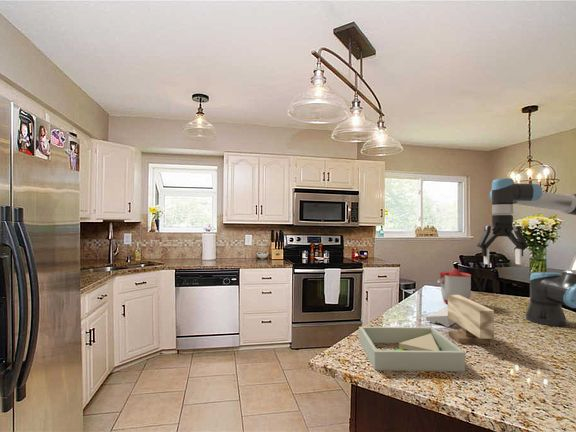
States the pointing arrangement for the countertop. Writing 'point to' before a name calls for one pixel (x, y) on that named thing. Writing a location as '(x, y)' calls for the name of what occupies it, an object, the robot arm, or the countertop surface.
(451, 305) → the beam
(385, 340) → the sandwich crate
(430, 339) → the sandwich
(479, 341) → the fulcrum
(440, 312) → the decorative molding
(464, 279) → the citrus juicer
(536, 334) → the countertop surface
